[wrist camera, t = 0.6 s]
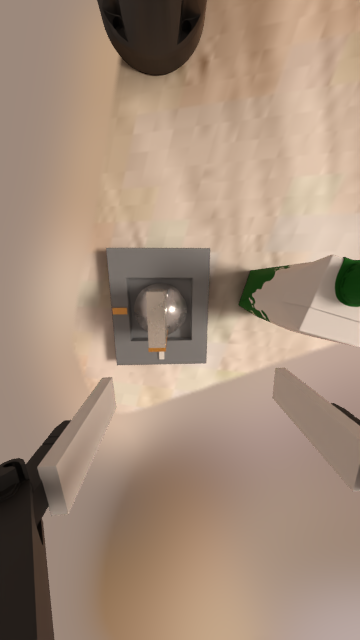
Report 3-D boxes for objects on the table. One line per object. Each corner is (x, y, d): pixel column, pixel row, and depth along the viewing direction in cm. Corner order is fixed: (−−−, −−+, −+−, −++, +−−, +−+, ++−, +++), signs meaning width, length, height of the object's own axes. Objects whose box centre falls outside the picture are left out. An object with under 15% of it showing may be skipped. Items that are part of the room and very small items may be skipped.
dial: (134, 283, 33) (116, 284, 22) (186, 283, 33) (192, 284, 23) (137, 333, 35) (122, 355, 25) (186, 332, 35) (191, 353, 25)
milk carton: (288, 276, 34) (440, 271, 15) (270, 319, 36) (386, 364, 17) (247, 264, 33) (352, 240, 14) (232, 308, 35) (305, 342, 16)
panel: (111, 250, 32) (105, 247, 29) (207, 250, 32) (210, 248, 30) (120, 359, 37) (116, 365, 34) (204, 357, 37) (206, 363, 35)
